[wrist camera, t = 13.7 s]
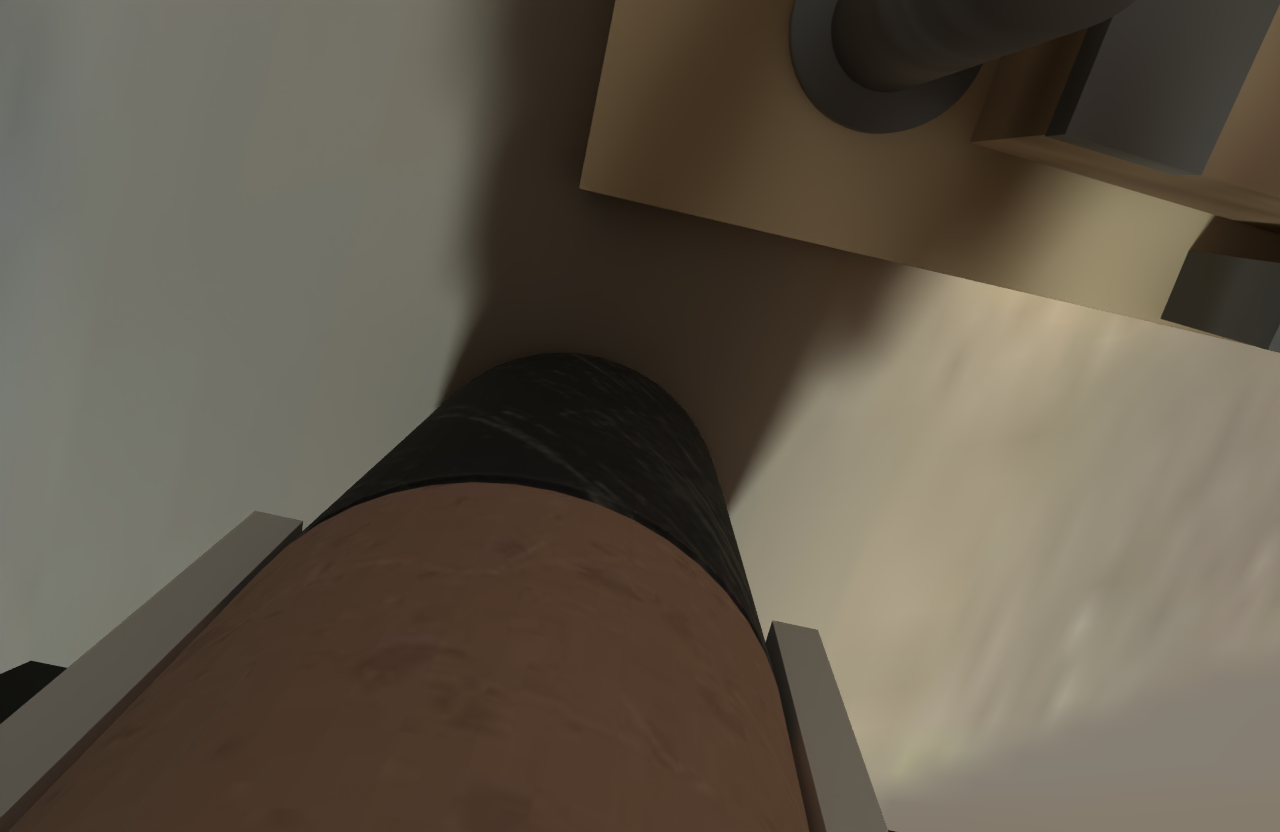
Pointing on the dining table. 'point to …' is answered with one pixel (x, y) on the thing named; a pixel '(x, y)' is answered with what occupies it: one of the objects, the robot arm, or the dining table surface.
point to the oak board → (903, 153)
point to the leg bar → (1154, 105)
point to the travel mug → (476, 645)
